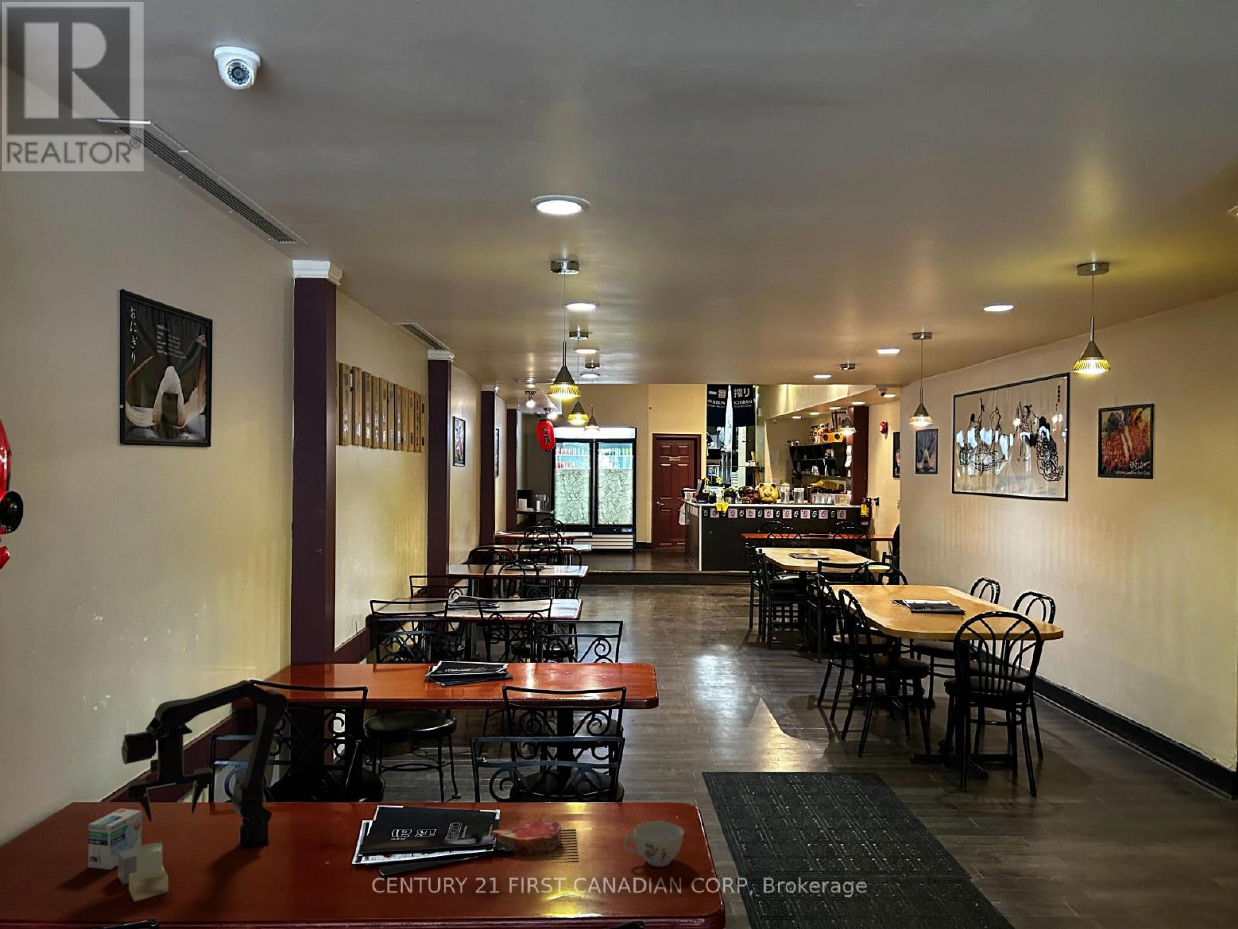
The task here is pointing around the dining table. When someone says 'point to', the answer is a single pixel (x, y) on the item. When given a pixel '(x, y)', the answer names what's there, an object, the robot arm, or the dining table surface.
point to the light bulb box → (113, 837)
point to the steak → (536, 839)
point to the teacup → (656, 842)
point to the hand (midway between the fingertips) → (171, 817)
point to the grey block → (127, 864)
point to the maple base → (148, 886)
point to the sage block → (149, 861)
